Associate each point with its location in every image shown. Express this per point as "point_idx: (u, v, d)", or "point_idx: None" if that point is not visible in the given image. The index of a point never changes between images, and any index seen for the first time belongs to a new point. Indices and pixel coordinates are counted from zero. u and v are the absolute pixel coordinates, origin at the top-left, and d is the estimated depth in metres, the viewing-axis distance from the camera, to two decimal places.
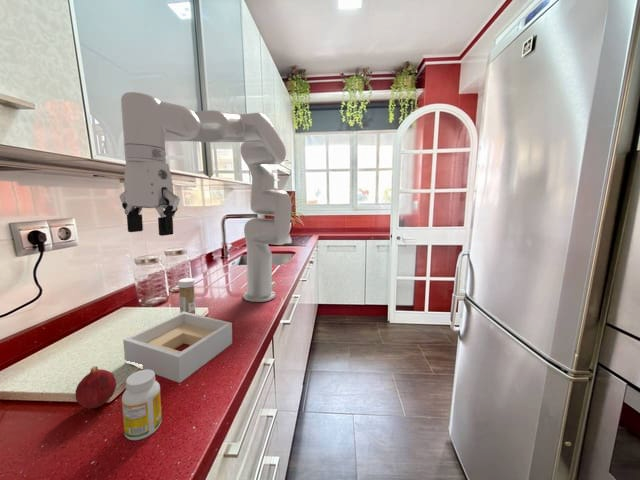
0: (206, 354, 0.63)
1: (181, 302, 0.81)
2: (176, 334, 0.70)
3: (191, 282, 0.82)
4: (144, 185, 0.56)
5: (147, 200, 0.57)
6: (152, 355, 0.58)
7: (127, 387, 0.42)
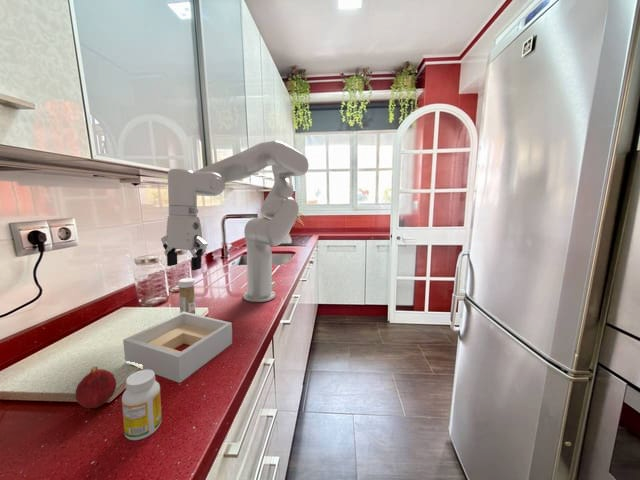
0: (206, 354, 0.63)
1: (181, 302, 0.81)
2: (176, 334, 0.70)
3: (191, 282, 0.82)
4: (182, 234, 0.77)
5: (184, 245, 0.77)
6: (152, 355, 0.58)
7: (127, 387, 0.42)
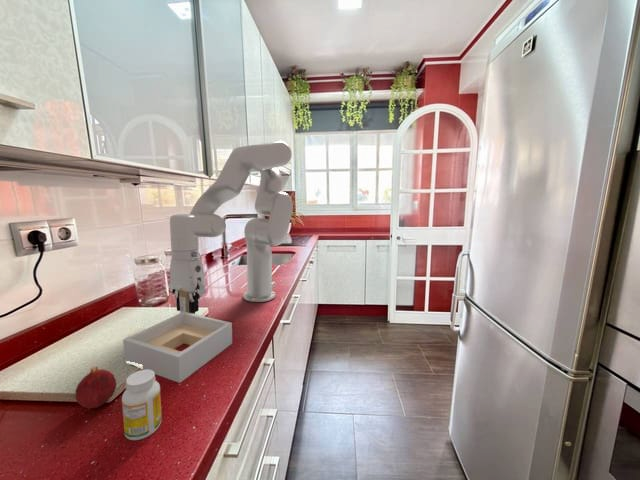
0: (206, 354, 0.63)
1: (181, 302, 0.81)
2: (176, 334, 0.70)
3: None
4: (185, 277, 0.79)
5: (187, 288, 0.80)
6: (152, 355, 0.58)
7: (127, 387, 0.42)
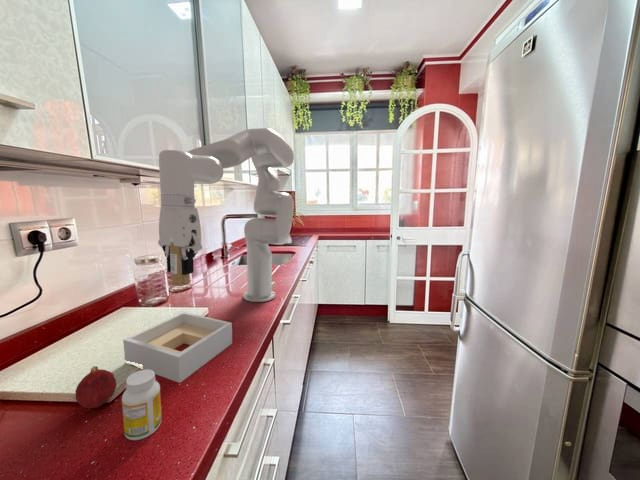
0: (206, 354, 0.63)
1: (172, 260, 0.67)
2: (176, 334, 0.70)
3: None
4: (177, 228, 0.64)
5: (179, 241, 0.65)
6: (152, 355, 0.58)
7: (127, 387, 0.42)
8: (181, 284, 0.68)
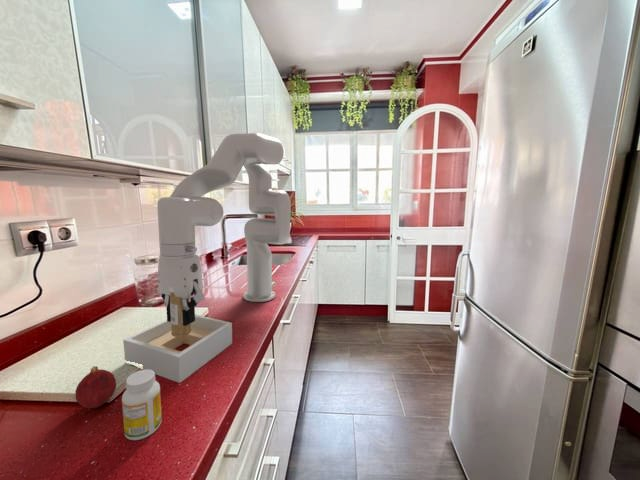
0: (206, 354, 0.63)
1: (172, 311, 0.63)
2: None
3: None
4: (177, 279, 0.61)
5: (180, 292, 0.62)
6: (152, 355, 0.58)
7: (127, 387, 0.42)
8: (182, 335, 0.64)
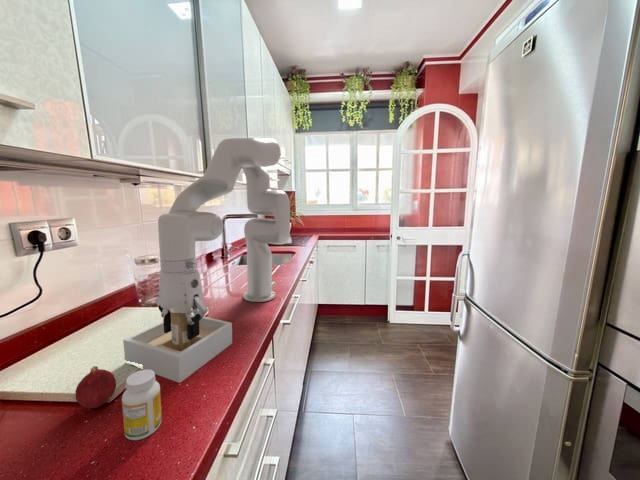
0: (206, 354, 0.63)
1: (173, 331, 0.64)
2: None
3: None
4: (178, 295, 0.62)
5: (180, 308, 0.62)
6: (152, 355, 0.58)
7: (127, 387, 0.42)
8: None
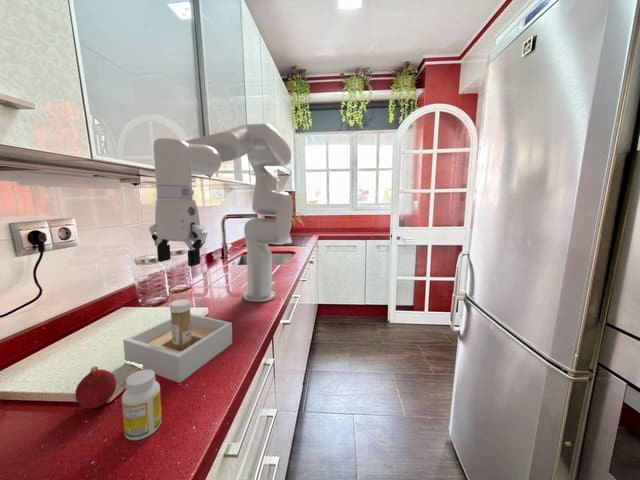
0: (206, 354, 0.63)
1: (173, 331, 0.64)
2: None
3: (186, 306, 0.64)
4: (175, 221, 0.61)
5: (177, 235, 0.62)
6: (152, 355, 0.58)
7: (127, 387, 0.42)
8: None
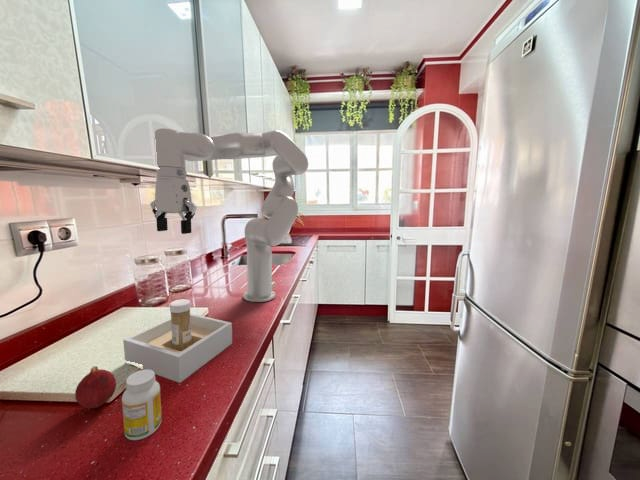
0: (206, 354, 0.63)
1: (173, 331, 0.64)
2: None
3: (186, 305, 0.64)
4: (171, 196, 0.76)
5: (173, 207, 0.76)
6: (152, 355, 0.58)
7: (127, 387, 0.42)
8: None
